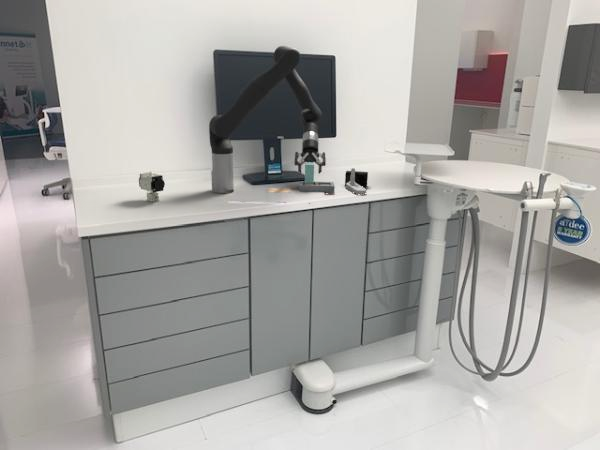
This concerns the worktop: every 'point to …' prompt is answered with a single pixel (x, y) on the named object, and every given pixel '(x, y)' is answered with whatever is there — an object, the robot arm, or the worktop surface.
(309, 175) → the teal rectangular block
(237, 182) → the worktop surface
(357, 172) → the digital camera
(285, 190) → the deck
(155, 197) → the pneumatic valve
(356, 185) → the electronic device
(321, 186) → the port block
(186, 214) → the worktop surface
